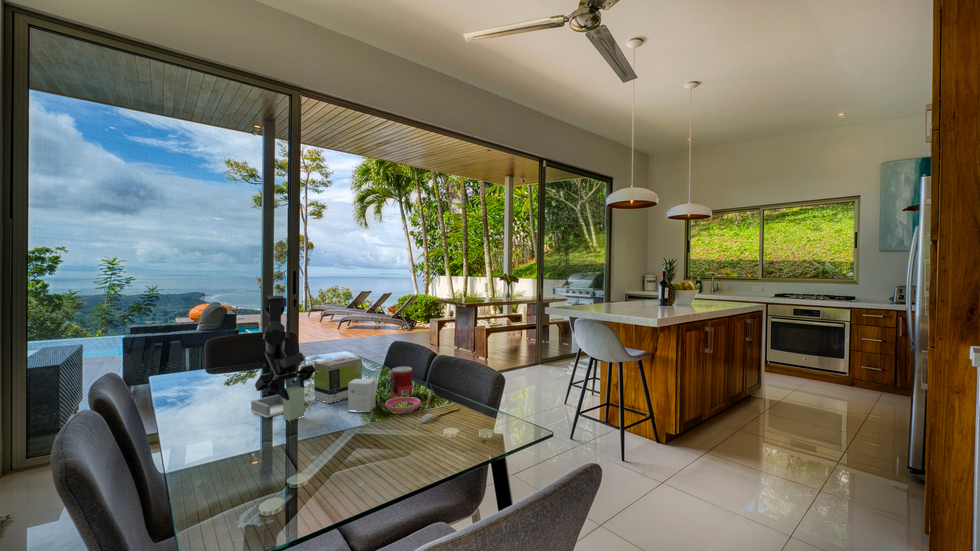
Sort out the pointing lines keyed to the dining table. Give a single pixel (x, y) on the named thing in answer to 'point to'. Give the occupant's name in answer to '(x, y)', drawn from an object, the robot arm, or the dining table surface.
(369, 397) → the small box
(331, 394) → the tea box
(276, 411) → the keeper bay
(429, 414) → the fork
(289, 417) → the green block
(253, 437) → the dining table surface
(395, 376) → the canned food
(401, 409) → the pink shallow round dish
